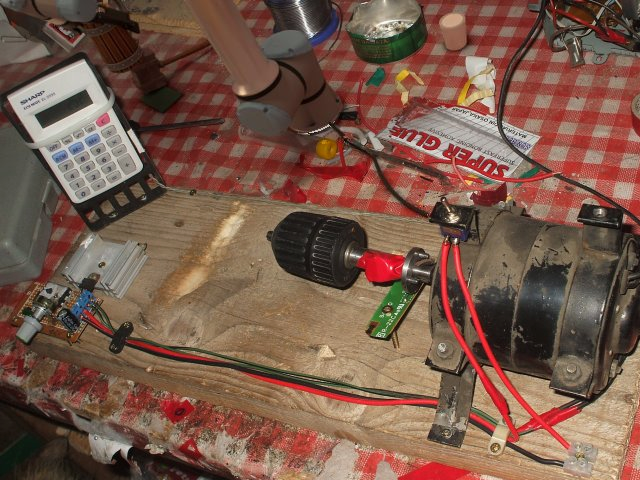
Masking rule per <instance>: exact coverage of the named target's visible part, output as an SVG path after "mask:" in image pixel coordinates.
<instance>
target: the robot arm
mask: <svg viewBox="0 0 640 480" xmlns="http://www.w3.org/2000/svg"><path fill="white" fill-rule="evenodd" d="M182 2H183V4H184V5H185V7H186V8H187V10H188V11H189V13H190V14H191V16H192V17H193V19H194V21H195V22H196V24H197V25H198V27H199V28H200V30H201V31H202V33H203V35H204V36H205V38H206V39H207V40H208V41H209V42H210V44H211V45H210V46H211V47H212V48H213V50H214V52H215V53H216V55H217V56H218V57H219V60H220V61H221V62H222V64H223V65H224V67H225V69H226V70H227V72H228V73H229V75H230V76H231V78H232V82H231V90H232V92H233V94H234V95H235V96H236V98H237V100H238V101H239V104H238V105H237V108H236V117H237V119H238V121H239V122H240V123H241V124H242V126H243V127H245V128H246V129H248V130H249V131H251V132H253V133H254V134H257V135H260V136H263V137H268V138H276V137H280V136H283V135H284V134H285V133H286V132H287V130H288V129H290V130H291V132H292V133H294V132H295V133H294V134H296V133H298V132H299V133H308V134H310V135H311V136H315V135H316V136H317V135H319V134H322V133H324V132H326V131H328V130H330V129H331V128H332V130H333V131H335V132H336V133H337V134H338V135H339V136H340V137H341V138H343V136H345V135H346V134H345V132H343V131H342V130H341V129H339V127H337V125H336V124H337V123H338V122H339V121H340V119H341V118H342V117H343V113H344V104H343V101H342V99H341V97H340V95H339V94H338V93H337V92H336V91H335V90H334V88H333V87H332V86H331V85H330V84H329V83H328V82H327V81H326V80H327V79H326V78H325V76H324V73H323V71H322V67H321V66H320V63H319V61H318V57H317V55H316V53H315V51H314V46H313V44H312V43H311V41H310V39H309V37H308V36H307V35H306V34H305V33H304V32H302V31H301V30H299V29H298V30H297V29H286V30H282V31H279V32H276V33H273V34H272V35H269V36H268V37H266V38H265V39H264V40H263V41H262V43H261V44H259V43H258V41H257V40H256V38H255V36H254V34H253V32H252V30H251V29H250V27H249V25H248V24H247V22H246V20H245V18H244V17H243V15H242V13H241V11H240V10H239V8H238V6H237V4H236V3H235V1H234V0H182ZM0 4H1V6H3V7H4V8H7V9H10V10H12V11H13V12H16V13H17V12H18V13H22V14H24V15H28V16H31V17H33V18H37V19H40V20H42V21H44V22H47V23H50V24H52V25H55V26H57V27H59V28H63V29H65V30H67V31H69V32H71V33H73V34H75V35H77V36H83V34H84V35H85V36H86V35H87V36H89V35H88V34H87V33H86V31H85V29H84V25H83V24H89V23H90V24H97V25H98V24H100V23H104V24H113V25H118V26H122V28H123V29H126V30H129V31H131V32H132V33H134V34H136V35H139V34H141V30H140V29H141V28H140V25H139V23H140V22H137V21H135V20H133V19H131V15H130V13H129V12H128V13H126V12H123V11H120V10H119V9H114V8H112V7H111V8H108V7H105V6H103V5H101V4H98V0H0ZM95 20H96V21H95ZM339 112H341V114H340V116H339V117H338V114H339ZM337 117H338V118H337ZM334 121H335V122H334ZM333 122H334V123H333ZM328 124H329V125H330V126H331V127H330V126H329V127H327V128H325V129H323V130H321V131H318V132H314V133H309V132H312V131H315V130H318V129H321V128H323V127H325V126H327V125H328ZM360 150H361V151H363V152H365V153H366V154H367V155H368V156H369V157H370V159H371V160H372V162H373V165H374V167H375V169H376V173H377V174H378V176H379V178H380V180H381V181H382V183H383V185H384V187H386V189H387V190H388V192H389V193H391V195H392V196H393V197H394V198H395V199H397V200H398V202H400V203H401V204H403V205H404V206H405V207H407V208H408V209H410V210H411V211H414V212H415V213H418V214H419V215H422V216H424V217H426V218H428V216H429V214H430V213H429V212H427V211H425V210H423V209H421V208H419V207H417V206H415V205H413V204H411V203H410V202H409V201H407V200H405V198H403V196H401V195H400V194H398V193H397V191H396V190H395V189H394V188H393V187H392V185H390V182H388V180H387V179H386V177H385V175H384V173H383V172H382V170H381V167H380V164H379V161H378V159H377V156H376V155H375V154H374V153H373V152H372V154H373V155H374V156H373V155H370V154H369V153H368V152H367V151H366V150H362V149H360ZM427 214H428V216H427Z"/></svg>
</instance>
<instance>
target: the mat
mask: <svg viewBox="0 0 640 480" xmlns="http://www.w3.org/2000/svg"><path fill="white" fill-rule="evenodd" d="M183 96H184V94H183V93H181V92H179V91H177V90H175V89H172V88H170V87H168V86H167V85H165V86H163V87H160V88H158V89H156V90H153V91H151V92H148V93H146V94H144V95H143V96H142V97H141V98H140V99H139V101H140V102H141V103H143V104H144V105H147V106H150V107H151V108H153V109H155V110H157V111H159V112H161V113H162V114H164V113H165V112H166V111H168V110H169V109H170V108H171V107H172V106H173V105H175V103H176V102H177V101H179V100H180V98H182V97H183Z"/></svg>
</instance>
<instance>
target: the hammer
mask: <svg viewBox="0 0 640 480" xmlns="http://www.w3.org/2000/svg"><path fill="white" fill-rule="evenodd" d="M210 46H212V45H211V44H210V42H209V41H208V39H207V40H204V41H202V42H201V43H198V44H197V45H195V46H193V47H190V48H189V49H186V50H184V51H182V52H180V53H178V54H176V55H173V56H171V57H170V58H167V59H165V60H161V59H160V60H159V58H158V57H156V53H155V51H153V49H151V48H150V47H149V46H144V47H141V48H142V51H143V53H144V57H143V60H142V62H141V63H140V64H139V65H138V66H137V67H135V68H134V69H132V70H130V71H129V72H130V74H131V77H130V81H131V83H133V84H134V87H135V88H136V89H137V90H138V91H139V92H140V93H141V94H142V95H146V94H147V93H148V92H151V91H153V90H156V89H158V88H160V87H163V86H167V82H166V80H167V76H166V75H165V74H164V73H163V72H162V71H161V69H165V67H166V66H169V65H170V64H173V63H176V62H178V61H179V60H183V59H185V58H187V57H189V56H191V55H193V54H195V53H198V52H200V51H201V50H204V49H206V48H208V47H210Z"/></svg>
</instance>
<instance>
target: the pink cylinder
mask: <svg viewBox="0 0 640 480" xmlns="http://www.w3.org/2000/svg"><path fill="white" fill-rule="evenodd" d="M438 24H439V28H440V32H441V34H442V37H443V41H444V44H445V47H446V49H448V50H449V51H458V50H461V49H463V48H464V47H465V46H466V45H467V43H468V39H467V38H468V37H467V22H466V16H465V14H464V13H463V12H458V11H452V12H449V13H446V14H445V15H443V16H442V17H441V18H440V19H439V21H438Z"/></svg>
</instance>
